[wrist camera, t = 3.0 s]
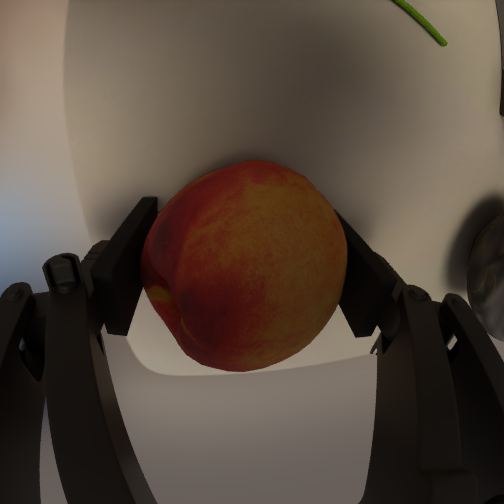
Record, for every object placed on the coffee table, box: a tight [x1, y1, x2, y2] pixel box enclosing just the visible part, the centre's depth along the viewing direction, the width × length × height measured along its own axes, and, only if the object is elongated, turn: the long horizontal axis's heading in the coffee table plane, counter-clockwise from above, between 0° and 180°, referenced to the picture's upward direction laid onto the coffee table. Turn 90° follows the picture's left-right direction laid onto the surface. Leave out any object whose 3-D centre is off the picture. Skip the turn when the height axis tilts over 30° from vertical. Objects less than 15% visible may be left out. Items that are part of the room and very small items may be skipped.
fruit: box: [139, 160, 347, 372], centre depth 11 cm, size 8×8×8 cm
